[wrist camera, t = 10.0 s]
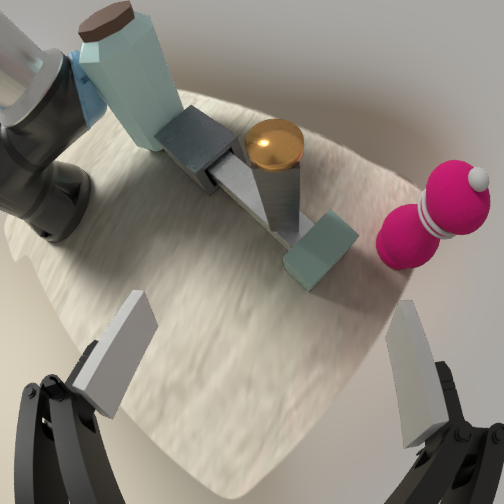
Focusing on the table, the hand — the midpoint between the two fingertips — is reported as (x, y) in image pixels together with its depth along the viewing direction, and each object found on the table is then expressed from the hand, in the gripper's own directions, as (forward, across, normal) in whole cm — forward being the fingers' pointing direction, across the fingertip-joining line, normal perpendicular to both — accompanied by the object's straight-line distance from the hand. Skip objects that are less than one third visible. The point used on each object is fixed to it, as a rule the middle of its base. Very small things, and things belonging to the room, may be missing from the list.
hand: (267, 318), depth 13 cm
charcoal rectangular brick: (+29, -12, +1) cm, 32 cm away
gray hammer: (+22, -2, -4) cm, 22 cm away
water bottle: (+34, -21, +6) cm, 40 cm away
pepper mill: (+20, +15, -8) cm, 26 cm away
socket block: (+19, +4, -9) cm, 21 cm away
